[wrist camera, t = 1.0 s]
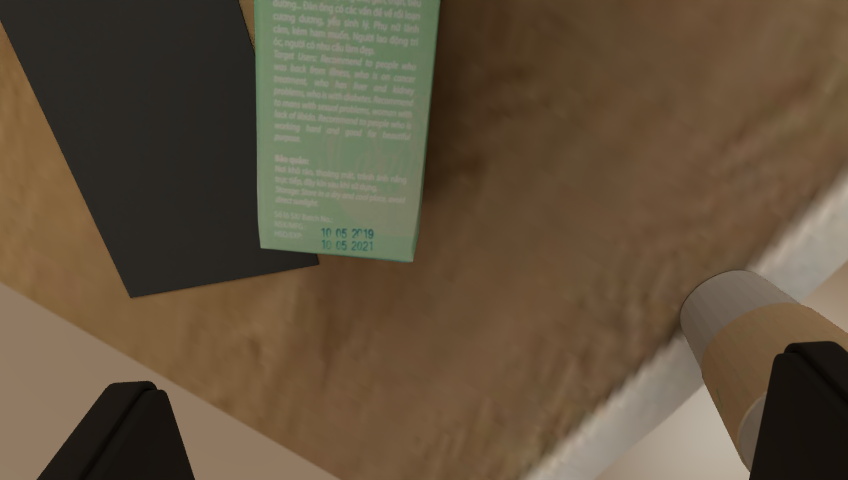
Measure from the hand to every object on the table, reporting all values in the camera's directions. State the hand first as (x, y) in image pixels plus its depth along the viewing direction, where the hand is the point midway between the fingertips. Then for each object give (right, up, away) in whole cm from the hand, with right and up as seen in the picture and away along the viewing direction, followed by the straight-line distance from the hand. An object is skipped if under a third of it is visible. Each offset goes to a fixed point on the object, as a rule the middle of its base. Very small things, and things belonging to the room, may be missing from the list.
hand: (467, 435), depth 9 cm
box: (-4, +11, +22) cm, 25 cm away
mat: (-15, +9, +23) cm, 29 cm away
